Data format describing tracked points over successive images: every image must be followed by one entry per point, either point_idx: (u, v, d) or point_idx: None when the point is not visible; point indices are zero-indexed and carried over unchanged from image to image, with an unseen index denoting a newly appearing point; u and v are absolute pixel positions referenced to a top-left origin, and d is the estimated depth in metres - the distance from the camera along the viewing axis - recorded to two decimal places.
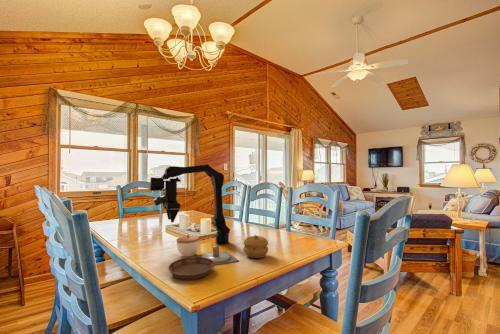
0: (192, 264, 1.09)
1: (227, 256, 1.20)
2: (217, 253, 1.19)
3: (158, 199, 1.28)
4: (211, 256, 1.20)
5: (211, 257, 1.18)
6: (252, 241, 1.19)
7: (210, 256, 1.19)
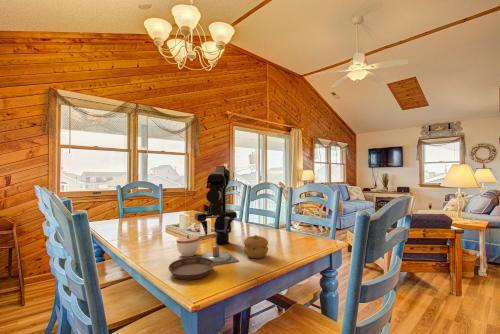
0: (192, 264, 1.09)
1: (227, 256, 1.20)
2: (217, 253, 1.19)
3: (203, 207, 1.25)
4: (211, 256, 1.19)
5: (211, 257, 1.18)
6: (252, 241, 1.19)
7: (210, 256, 1.19)
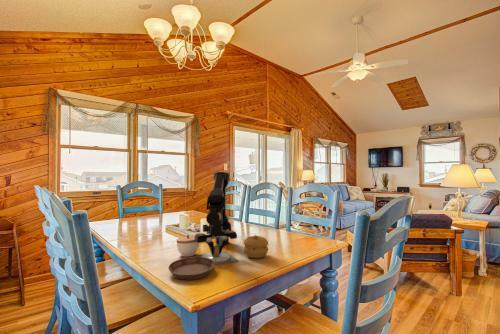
0: (192, 264, 1.09)
1: (227, 256, 1.20)
2: (217, 253, 1.19)
3: (203, 227, 1.24)
4: (211, 256, 1.19)
5: (211, 257, 1.18)
6: (252, 241, 1.19)
7: (210, 256, 1.19)
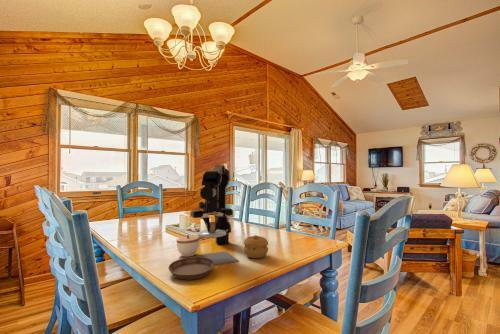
0: (192, 264, 1.09)
1: (223, 232, 1.21)
2: (213, 229, 1.20)
3: (199, 205, 1.25)
4: (207, 232, 1.21)
5: (207, 233, 1.19)
6: (252, 241, 1.19)
7: (206, 232, 1.20)
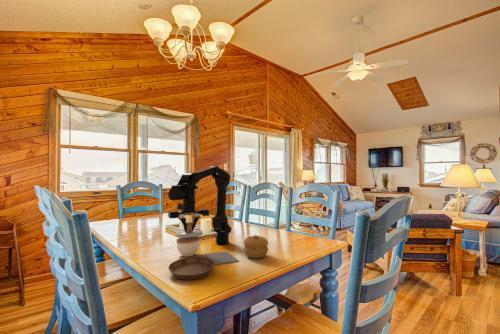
0: (192, 264, 1.09)
1: (199, 232, 1.25)
2: (190, 229, 1.24)
3: (177, 205, 1.30)
4: (184, 232, 1.25)
5: (184, 233, 1.24)
6: (252, 241, 1.19)
7: (183, 232, 1.25)
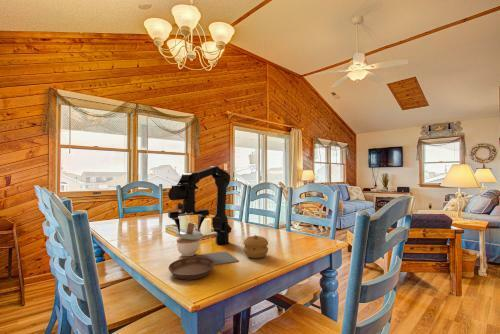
0: (192, 264, 1.09)
1: (200, 235, 1.25)
2: (191, 231, 1.24)
3: (177, 205, 1.30)
4: (185, 232, 1.25)
5: (184, 233, 1.24)
6: (252, 241, 1.19)
7: (184, 232, 1.25)
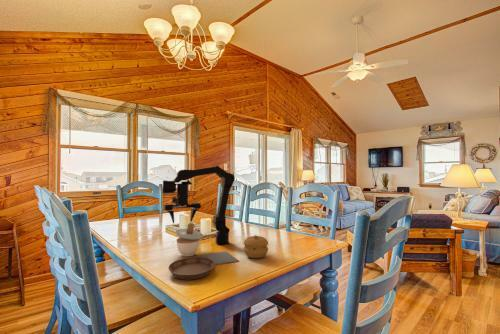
0: (192, 264, 1.09)
1: (200, 235, 1.25)
2: (191, 230, 1.24)
3: (172, 199, 1.43)
4: (185, 232, 1.25)
5: (184, 233, 1.24)
6: (252, 241, 1.19)
7: (184, 232, 1.25)
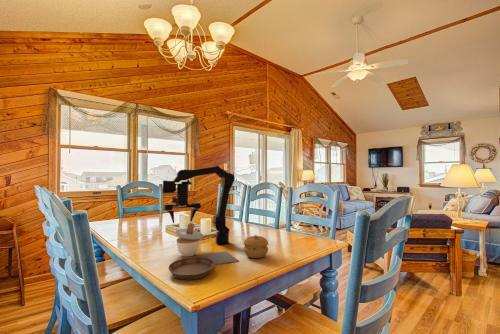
0: (192, 264, 1.09)
1: (200, 235, 1.25)
2: (191, 231, 1.24)
3: (172, 199, 1.43)
4: (185, 232, 1.25)
5: (184, 233, 1.24)
6: (252, 241, 1.19)
7: (184, 232, 1.25)
